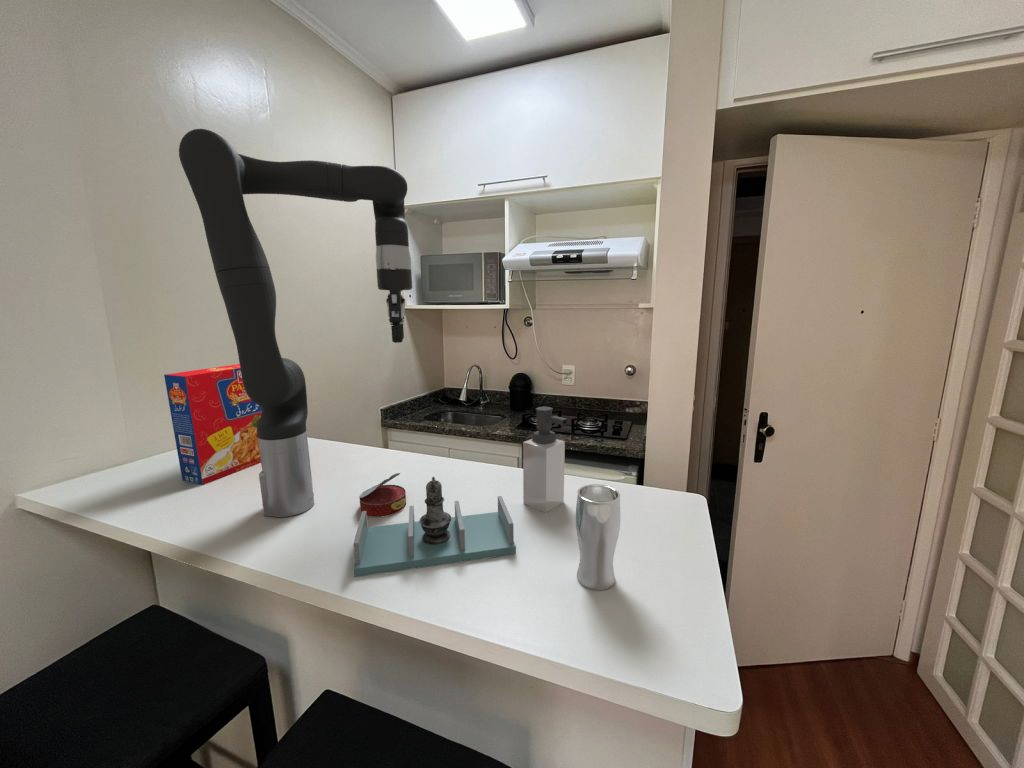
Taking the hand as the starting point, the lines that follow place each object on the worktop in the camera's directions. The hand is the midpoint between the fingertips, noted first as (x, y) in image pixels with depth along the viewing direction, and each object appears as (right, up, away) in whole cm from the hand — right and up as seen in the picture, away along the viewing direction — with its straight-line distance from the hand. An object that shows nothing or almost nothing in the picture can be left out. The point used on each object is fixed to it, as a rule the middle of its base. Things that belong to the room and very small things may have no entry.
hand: (398, 340), depth 95 cm
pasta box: (-51, -33, +23) cm, 65 cm away
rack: (+12, -40, -18) cm, 45 cm away
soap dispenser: (+34, -37, -3) cm, 51 cm away
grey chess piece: (+12, -39, -18) cm, 44 cm away
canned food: (-3, -38, -3) cm, 38 cm away
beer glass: (+40, -42, -28) cm, 64 cm away
